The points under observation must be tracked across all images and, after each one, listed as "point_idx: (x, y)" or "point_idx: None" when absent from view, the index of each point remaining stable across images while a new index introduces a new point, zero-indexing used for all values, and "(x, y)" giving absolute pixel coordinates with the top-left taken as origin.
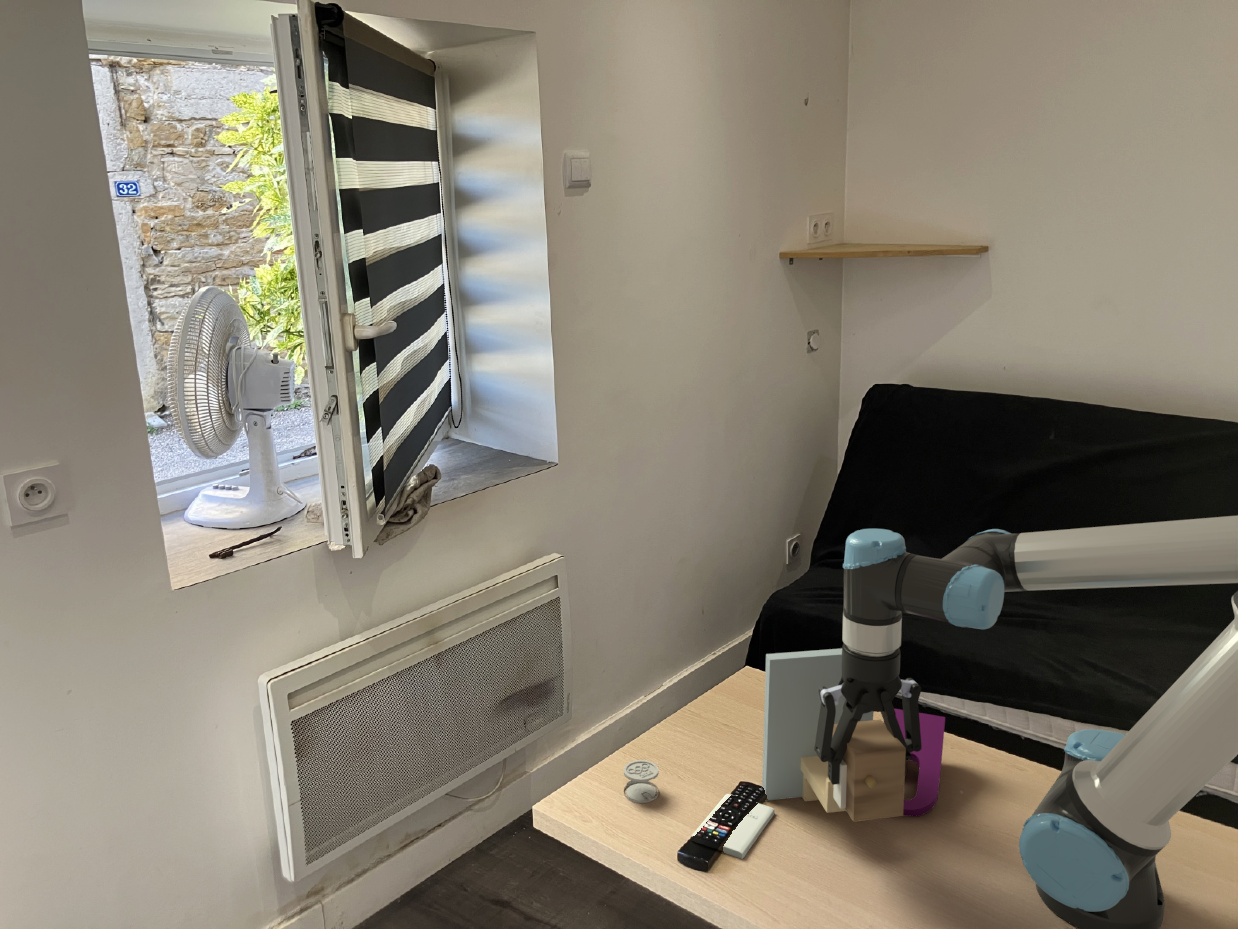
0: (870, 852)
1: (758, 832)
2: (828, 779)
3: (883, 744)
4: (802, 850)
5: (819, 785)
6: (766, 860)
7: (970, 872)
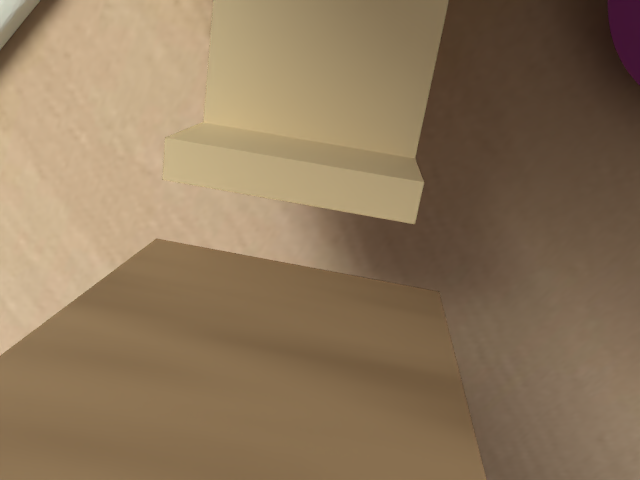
0: (375, 220)
1: (20, 9)
2: (175, 154)
3: None
4: (158, 135)
5: (218, 17)
6: (25, 143)
7: (611, 398)
